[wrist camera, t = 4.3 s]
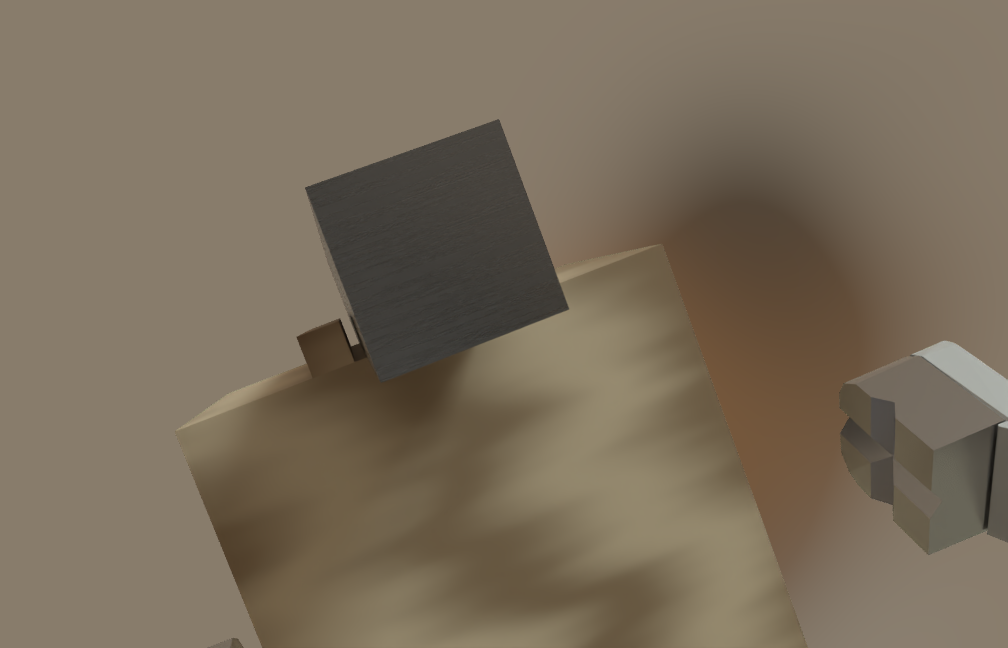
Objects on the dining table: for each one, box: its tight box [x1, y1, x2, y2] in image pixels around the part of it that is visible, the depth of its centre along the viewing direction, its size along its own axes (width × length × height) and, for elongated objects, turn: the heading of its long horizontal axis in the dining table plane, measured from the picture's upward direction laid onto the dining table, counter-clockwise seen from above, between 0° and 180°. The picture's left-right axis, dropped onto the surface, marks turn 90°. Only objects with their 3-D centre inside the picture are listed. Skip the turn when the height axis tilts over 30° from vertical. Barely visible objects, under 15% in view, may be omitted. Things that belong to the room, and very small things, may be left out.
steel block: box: [305, 120, 569, 383], centre depth 24 cm, size 3×21×3 cm, turn 11°
